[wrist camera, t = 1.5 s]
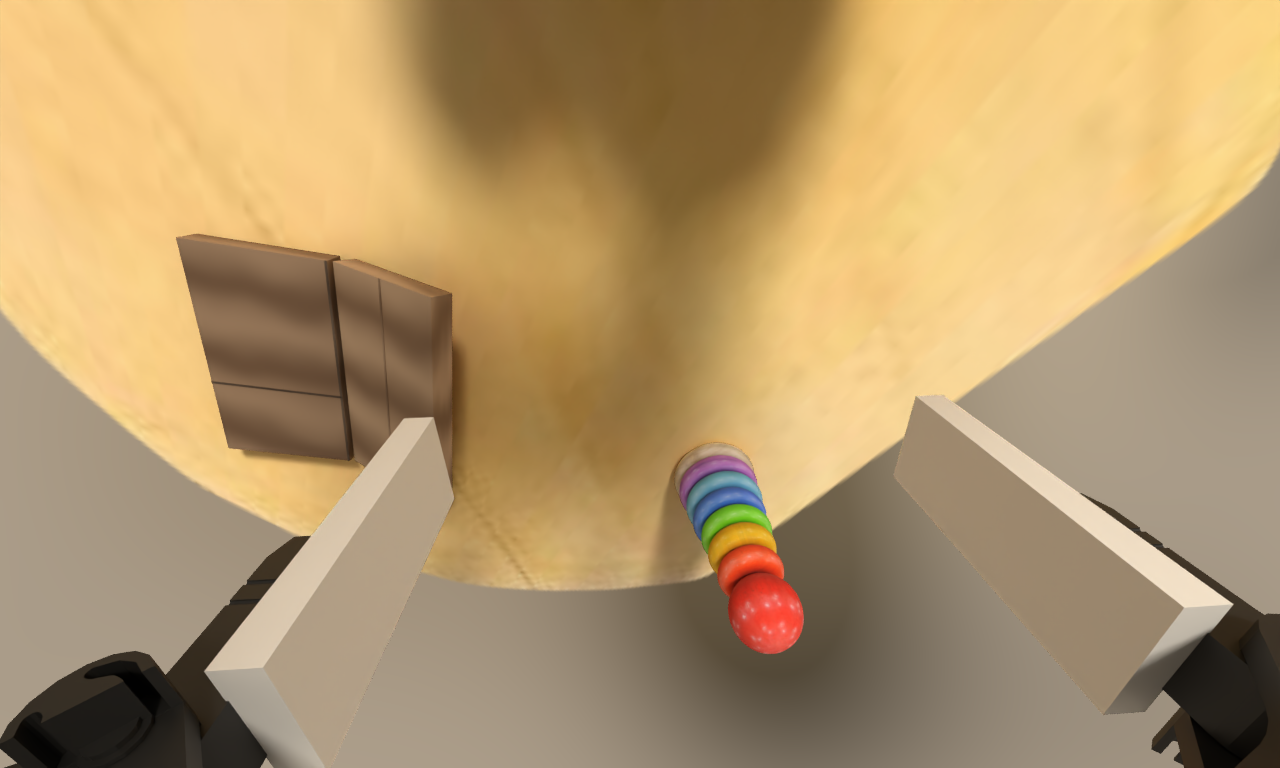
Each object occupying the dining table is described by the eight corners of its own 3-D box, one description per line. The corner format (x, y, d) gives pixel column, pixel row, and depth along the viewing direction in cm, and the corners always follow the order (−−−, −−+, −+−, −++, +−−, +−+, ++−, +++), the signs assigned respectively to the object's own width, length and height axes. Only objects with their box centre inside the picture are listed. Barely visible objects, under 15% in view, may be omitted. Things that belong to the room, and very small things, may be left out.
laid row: (196, 233, 34) (175, 237, 32) (339, 256, 35) (326, 260, 34) (243, 436, 42) (228, 448, 40) (359, 449, 43) (349, 460, 41)
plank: (355, 259, 35) (332, 261, 34) (452, 293, 32) (430, 297, 30) (373, 451, 43) (354, 460, 41) (452, 495, 40) (434, 507, 38)
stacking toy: (712, 514, 49) (766, 698, 32) (657, 476, 46) (683, 656, 30) (766, 466, 47) (855, 639, 30) (711, 424, 44) (774, 587, 27)
